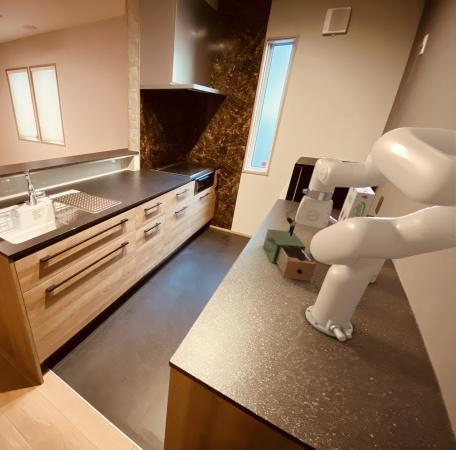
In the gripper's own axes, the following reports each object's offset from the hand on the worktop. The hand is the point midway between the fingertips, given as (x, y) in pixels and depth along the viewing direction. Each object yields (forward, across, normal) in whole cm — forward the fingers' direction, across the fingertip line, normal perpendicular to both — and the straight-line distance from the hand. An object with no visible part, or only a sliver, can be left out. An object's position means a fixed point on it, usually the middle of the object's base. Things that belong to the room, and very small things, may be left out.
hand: (305, 238), depth 93 cm
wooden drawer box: (+17, -1, +3) cm, 17 cm away
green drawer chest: (+17, -6, +15) cm, 23 cm away
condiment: (+18, +10, +24) cm, 31 cm away
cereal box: (+17, +19, +46) cm, 52 cm away
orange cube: (+15, -1, +2) cm, 16 cm away
